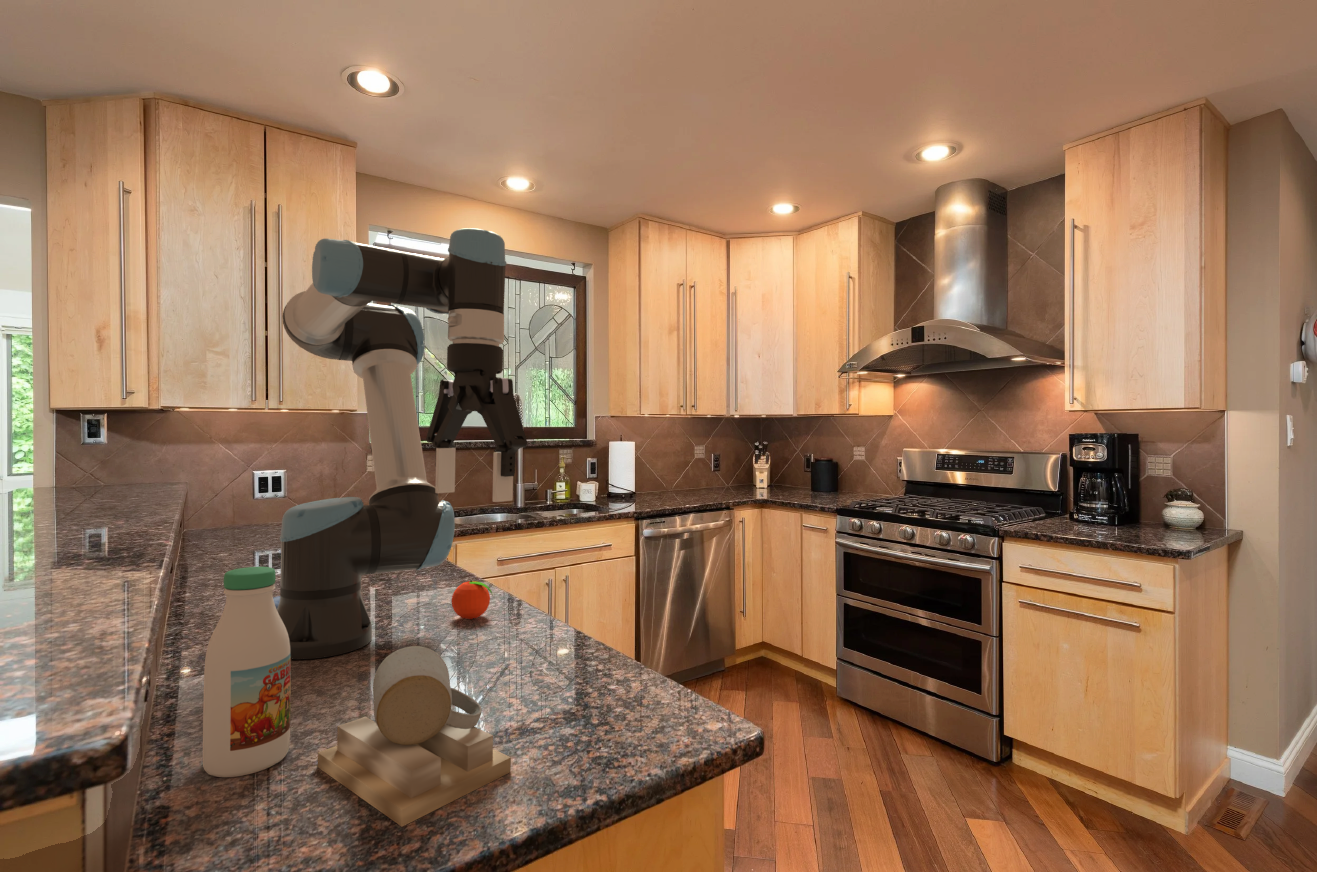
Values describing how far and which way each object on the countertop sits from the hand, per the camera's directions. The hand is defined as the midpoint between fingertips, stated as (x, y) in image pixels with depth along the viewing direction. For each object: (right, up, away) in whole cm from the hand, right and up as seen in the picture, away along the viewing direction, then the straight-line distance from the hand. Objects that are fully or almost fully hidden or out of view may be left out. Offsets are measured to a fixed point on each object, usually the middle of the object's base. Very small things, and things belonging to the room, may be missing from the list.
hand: (472, 496), depth 90 cm
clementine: (-9, -26, +31) cm, 41 cm away
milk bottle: (-17, -26, -23) cm, 38 cm away
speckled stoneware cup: (+2, -22, -23) cm, 32 cm away
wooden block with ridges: (+1, -26, -24) cm, 35 cm away
